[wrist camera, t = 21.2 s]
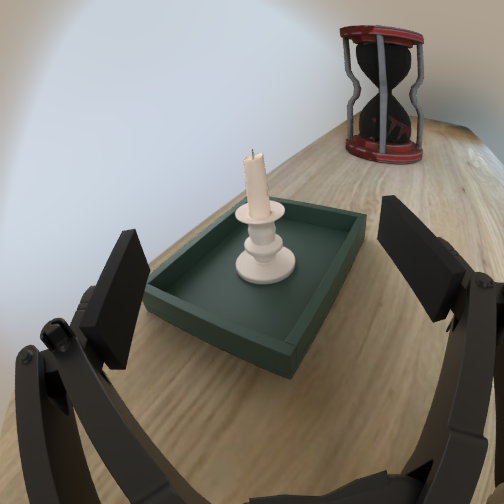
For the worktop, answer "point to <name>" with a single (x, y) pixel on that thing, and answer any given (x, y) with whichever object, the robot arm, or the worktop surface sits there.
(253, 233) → the candle
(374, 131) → the hourglass
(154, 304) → the tray
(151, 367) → the worktop surface
